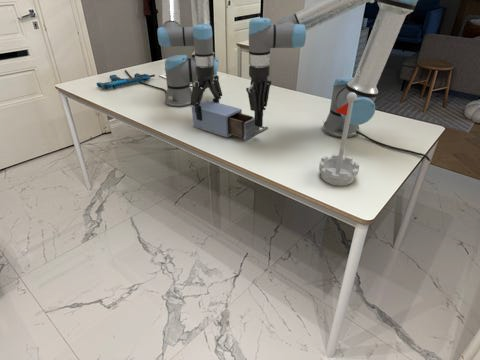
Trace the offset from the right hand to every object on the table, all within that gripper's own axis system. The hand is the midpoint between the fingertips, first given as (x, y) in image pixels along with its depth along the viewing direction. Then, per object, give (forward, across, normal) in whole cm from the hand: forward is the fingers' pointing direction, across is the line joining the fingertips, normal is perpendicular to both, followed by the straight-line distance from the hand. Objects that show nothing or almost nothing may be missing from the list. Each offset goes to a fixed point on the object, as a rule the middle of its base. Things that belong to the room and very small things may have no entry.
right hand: (258, 125), depth 136 cm
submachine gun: (+6, -15, -114) cm, 115 cm away
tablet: (+7, -43, -90) cm, 100 cm away
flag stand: (+8, +4, +37) cm, 38 cm away
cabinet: (+7, 0, -23) cm, 24 cm away
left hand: (+3, 0, -28) cm, 28 cm away
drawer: (+6, 0, -9) cm, 11 cm away
